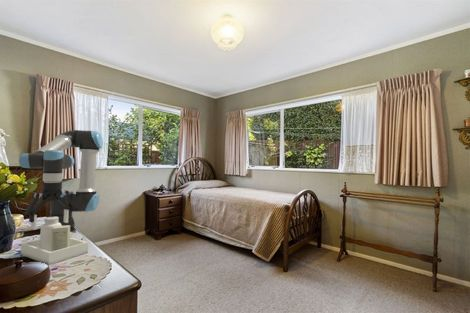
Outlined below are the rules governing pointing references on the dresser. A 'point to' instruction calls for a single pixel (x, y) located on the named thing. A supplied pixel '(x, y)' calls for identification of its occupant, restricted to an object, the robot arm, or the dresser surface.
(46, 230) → the pill bottle
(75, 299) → the dresser surface
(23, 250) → the tray
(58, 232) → the skincare box
